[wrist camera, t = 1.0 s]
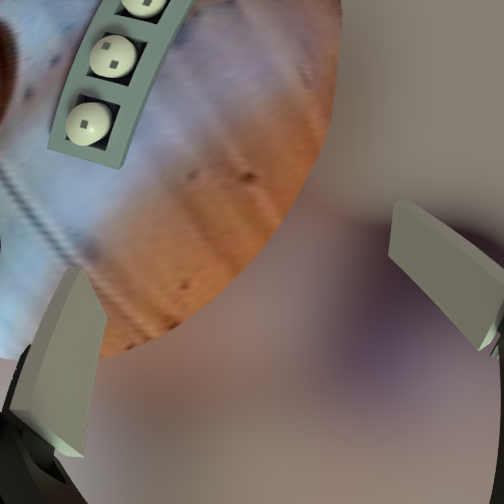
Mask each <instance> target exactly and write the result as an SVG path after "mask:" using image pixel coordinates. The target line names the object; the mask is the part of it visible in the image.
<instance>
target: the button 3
mask: <svg viewBox="0 0 504 504" xmlns="http://www.w3.org/2000/svg"><path fill="white" fill-rule="evenodd" d="M121 1H122V3H123V5H124V6H125V7H126V9H127V10H128V11H129V12H130V14H131V15H133V16H134V17H136V18H141V19H145V18H150V17H153V16H155V15H157V14H159V13H160V12H161V11H162V10H163V9H164V8H165V6H166V4H167V1H168V0H121Z"/></svg>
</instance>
